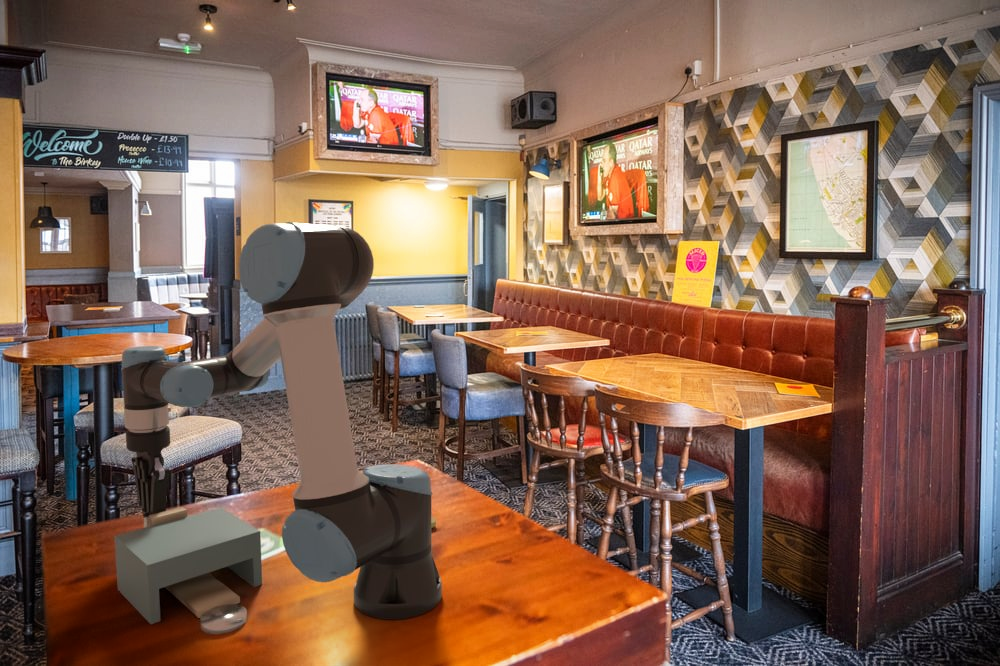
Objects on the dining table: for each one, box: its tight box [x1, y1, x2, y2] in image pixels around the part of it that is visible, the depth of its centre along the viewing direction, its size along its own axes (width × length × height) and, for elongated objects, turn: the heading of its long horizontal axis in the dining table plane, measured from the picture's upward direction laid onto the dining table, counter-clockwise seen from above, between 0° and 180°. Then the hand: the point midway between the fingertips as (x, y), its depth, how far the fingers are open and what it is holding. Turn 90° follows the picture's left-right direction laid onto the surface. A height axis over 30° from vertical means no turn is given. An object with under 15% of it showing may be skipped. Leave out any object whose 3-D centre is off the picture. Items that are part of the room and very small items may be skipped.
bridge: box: [113, 507, 263, 625], centre depth 123 cm, size 16×19×10 cm
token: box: [199, 604, 248, 635], centre depth 113 cm, size 7×7×2 cm
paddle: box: [149, 506, 241, 619], centre depth 123 cm, size 22×7×11 cm, turn 46°
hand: (153, 545), depth 135 cm, fingers closed
